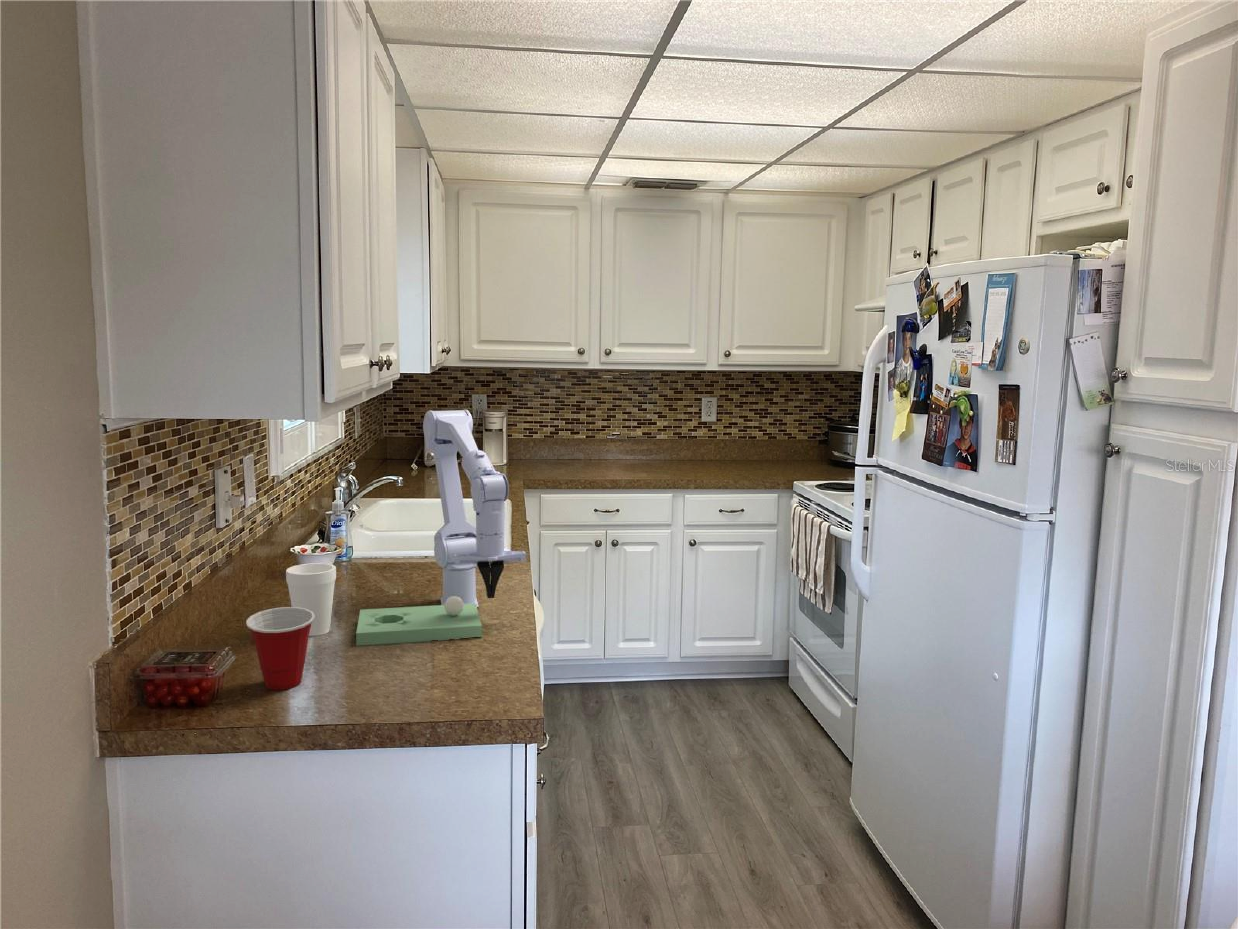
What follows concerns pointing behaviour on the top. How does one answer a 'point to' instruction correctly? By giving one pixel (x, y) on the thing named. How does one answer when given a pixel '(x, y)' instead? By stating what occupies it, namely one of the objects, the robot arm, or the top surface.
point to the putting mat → (416, 624)
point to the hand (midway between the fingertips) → (490, 596)
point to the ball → (453, 605)
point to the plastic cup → (281, 644)
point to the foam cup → (313, 592)
